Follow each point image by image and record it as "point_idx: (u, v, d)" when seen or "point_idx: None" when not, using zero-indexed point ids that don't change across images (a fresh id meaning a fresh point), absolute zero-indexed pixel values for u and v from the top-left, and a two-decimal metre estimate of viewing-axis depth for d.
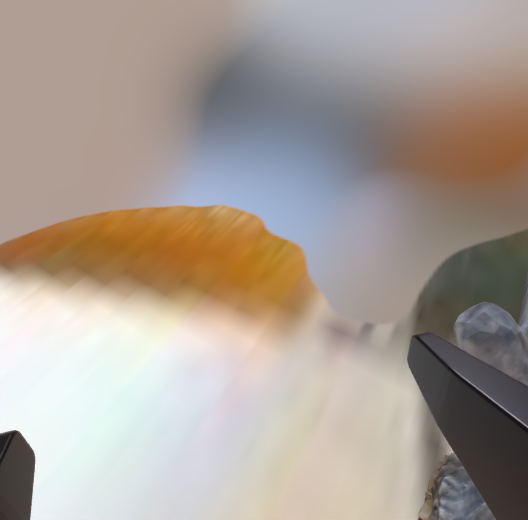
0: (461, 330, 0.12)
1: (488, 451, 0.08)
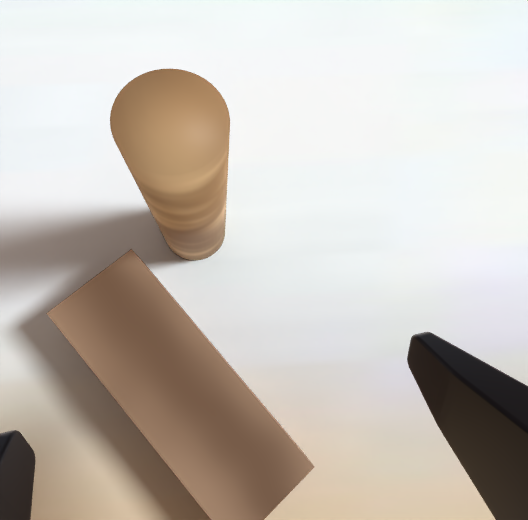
0: None
1: (488, 451, 0.08)
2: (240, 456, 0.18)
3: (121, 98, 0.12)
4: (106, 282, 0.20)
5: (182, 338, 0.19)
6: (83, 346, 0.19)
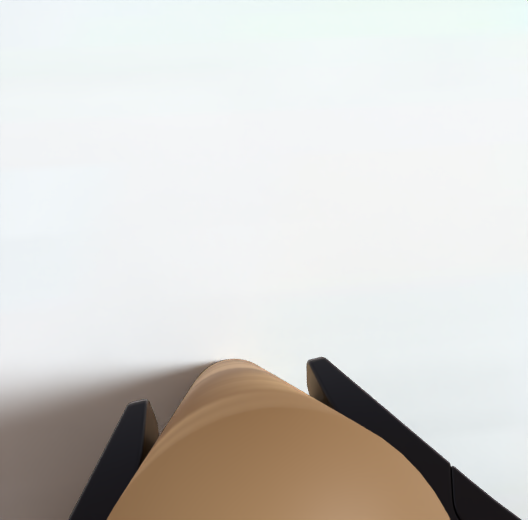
0: None
1: None
2: None
3: None
4: None
5: None
6: None
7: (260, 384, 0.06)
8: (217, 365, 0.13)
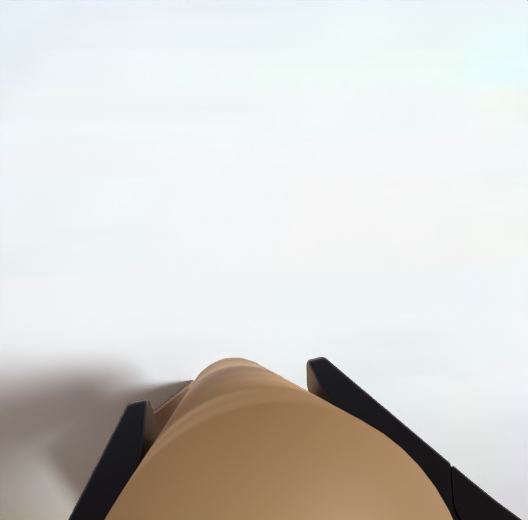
0: None
1: None
2: None
3: None
4: (161, 425, 0.18)
5: None
6: None
7: (261, 381, 0.06)
8: (217, 364, 0.13)
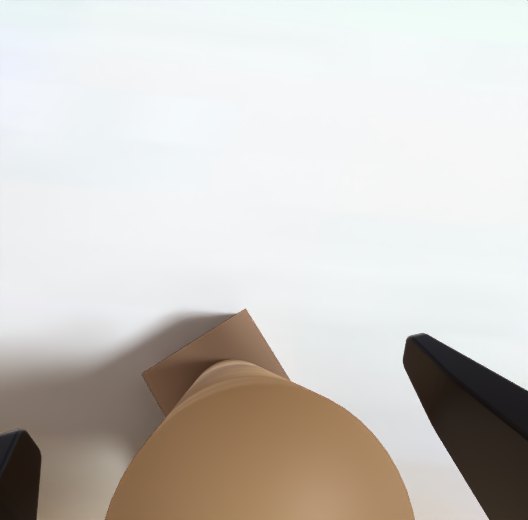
0: None
1: (482, 453, 0.08)
2: None
3: (126, 494, 0.04)
4: (213, 345, 0.16)
5: None
6: None
7: (252, 373, 0.07)
8: (217, 364, 0.14)
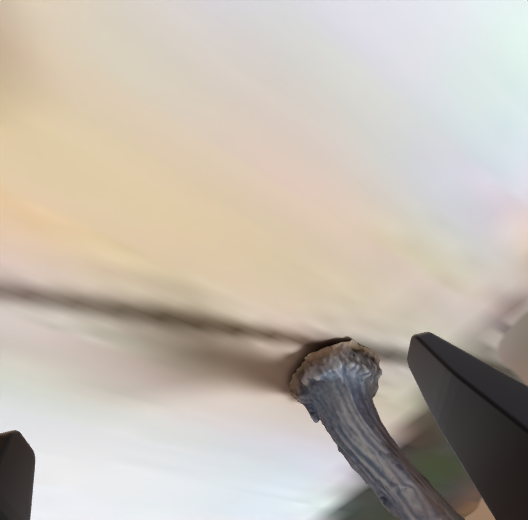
0: None
1: (488, 451, 0.08)
2: None
3: None
4: None
5: None
6: None
7: None
8: None
